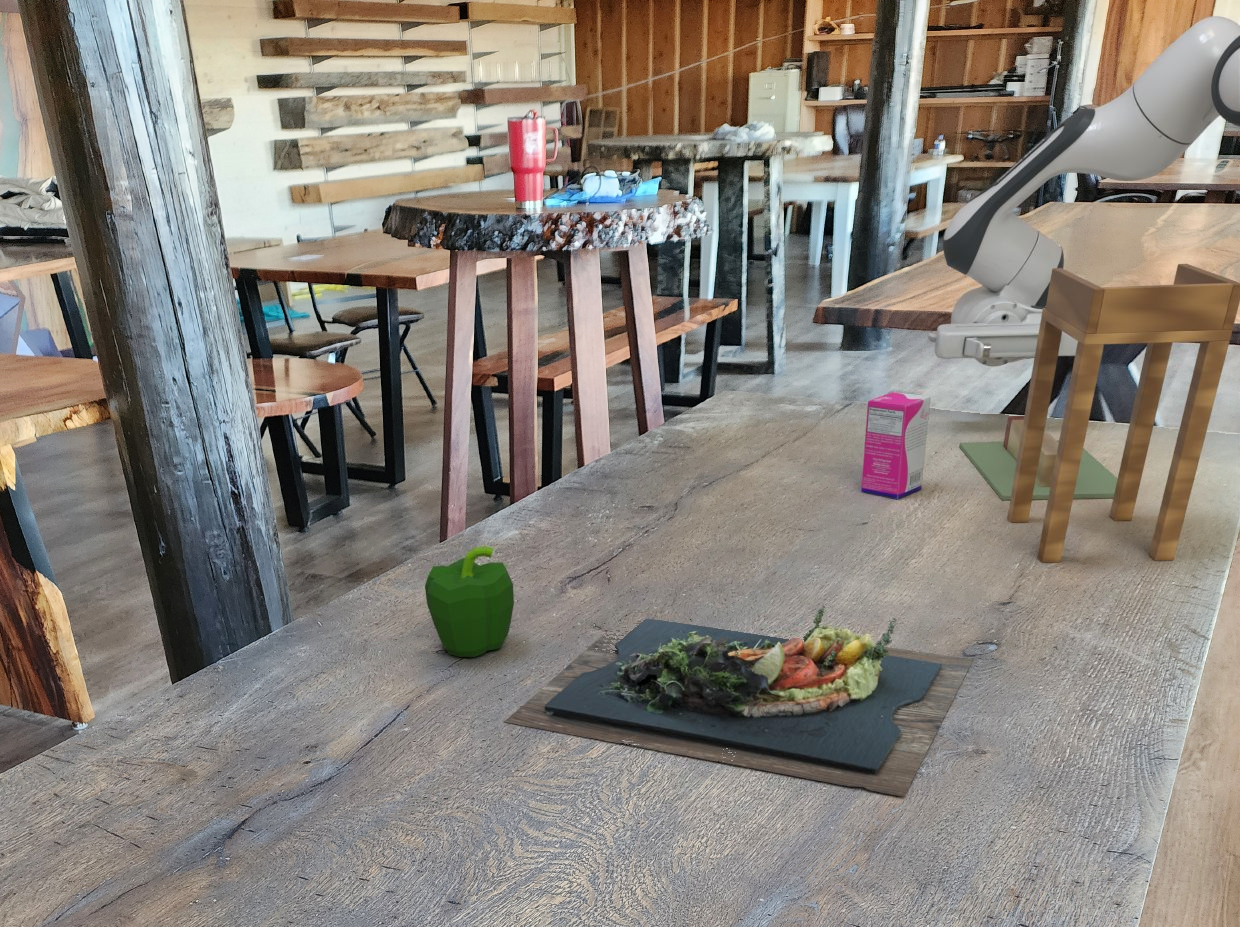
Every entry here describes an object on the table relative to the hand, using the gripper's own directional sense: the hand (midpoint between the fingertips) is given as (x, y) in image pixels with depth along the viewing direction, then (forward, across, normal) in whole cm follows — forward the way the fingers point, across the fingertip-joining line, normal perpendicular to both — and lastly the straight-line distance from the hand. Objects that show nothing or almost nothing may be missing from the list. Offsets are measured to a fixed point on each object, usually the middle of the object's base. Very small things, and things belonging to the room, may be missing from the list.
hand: (1019, 350), depth 163 cm
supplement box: (+23, -20, +12) cm, 33 cm away
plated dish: (+83, -42, +12) cm, 94 cm away
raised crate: (+43, -1, +12) cm, 45 cm away
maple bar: (+15, 0, +12) cm, 19 cm away
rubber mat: (+15, +1, +12) cm, 19 cm away
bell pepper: (+73, -68, +12) cm, 100 cm away
